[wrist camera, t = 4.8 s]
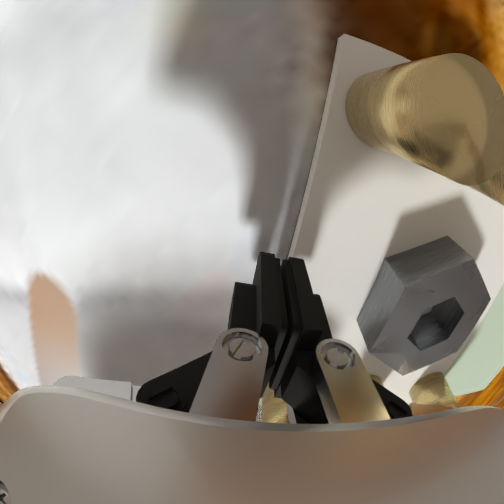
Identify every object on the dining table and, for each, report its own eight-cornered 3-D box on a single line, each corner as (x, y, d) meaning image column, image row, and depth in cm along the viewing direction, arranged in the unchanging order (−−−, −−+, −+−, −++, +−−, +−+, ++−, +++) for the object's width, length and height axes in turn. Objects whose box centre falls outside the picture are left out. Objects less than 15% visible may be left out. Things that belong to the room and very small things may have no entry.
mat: (578, 203, 9) (584, 207, 9) (480, 384, 19) (483, 389, 18) (337, 38, 8) (343, 33, 7) (246, 394, 17) (246, 404, 16)
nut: (482, 246, 11) (507, 268, 9) (427, 347, 14) (440, 373, 12) (398, 221, 10) (423, 245, 8) (343, 344, 14) (352, 376, 12)
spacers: (546, 178, 9) (602, 210, 4) (429, 394, 17) (448, 443, 12) (353, 60, 8) (429, 28, 3) (257, 397, 16) (256, 468, 11)
